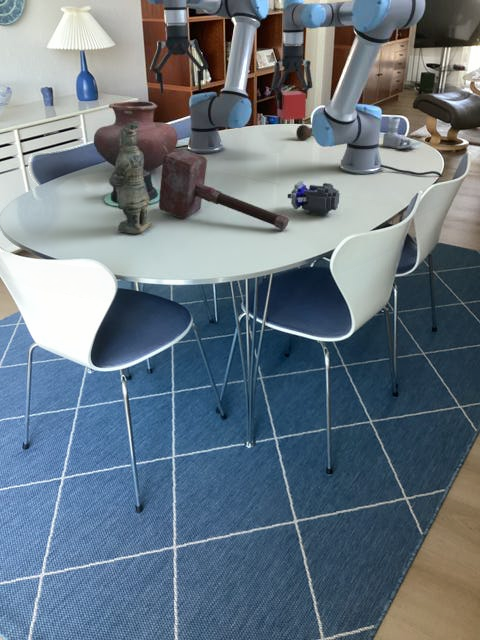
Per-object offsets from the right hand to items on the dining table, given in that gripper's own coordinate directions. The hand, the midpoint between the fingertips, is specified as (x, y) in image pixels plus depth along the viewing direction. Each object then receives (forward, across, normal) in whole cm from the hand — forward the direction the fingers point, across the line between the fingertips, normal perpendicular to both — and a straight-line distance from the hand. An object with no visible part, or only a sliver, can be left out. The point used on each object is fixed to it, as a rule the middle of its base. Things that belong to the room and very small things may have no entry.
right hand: (291, 108), depth 220 cm
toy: (+20, +14, +66) cm, 71 cm away
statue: (+19, +69, +65) cm, 96 cm away
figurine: (+19, -22, -34) cm, 45 cm away
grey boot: (+19, -50, 0) cm, 53 cm away
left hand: (-10, +45, +9) cm, 47 cm away
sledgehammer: (+19, +42, +65) cm, 80 cm away
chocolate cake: (+19, +66, +35) cm, 77 cm away
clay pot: (+19, +62, +3) cm, 65 cm away
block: (+3, 0, 0) cm, 3 cm away
